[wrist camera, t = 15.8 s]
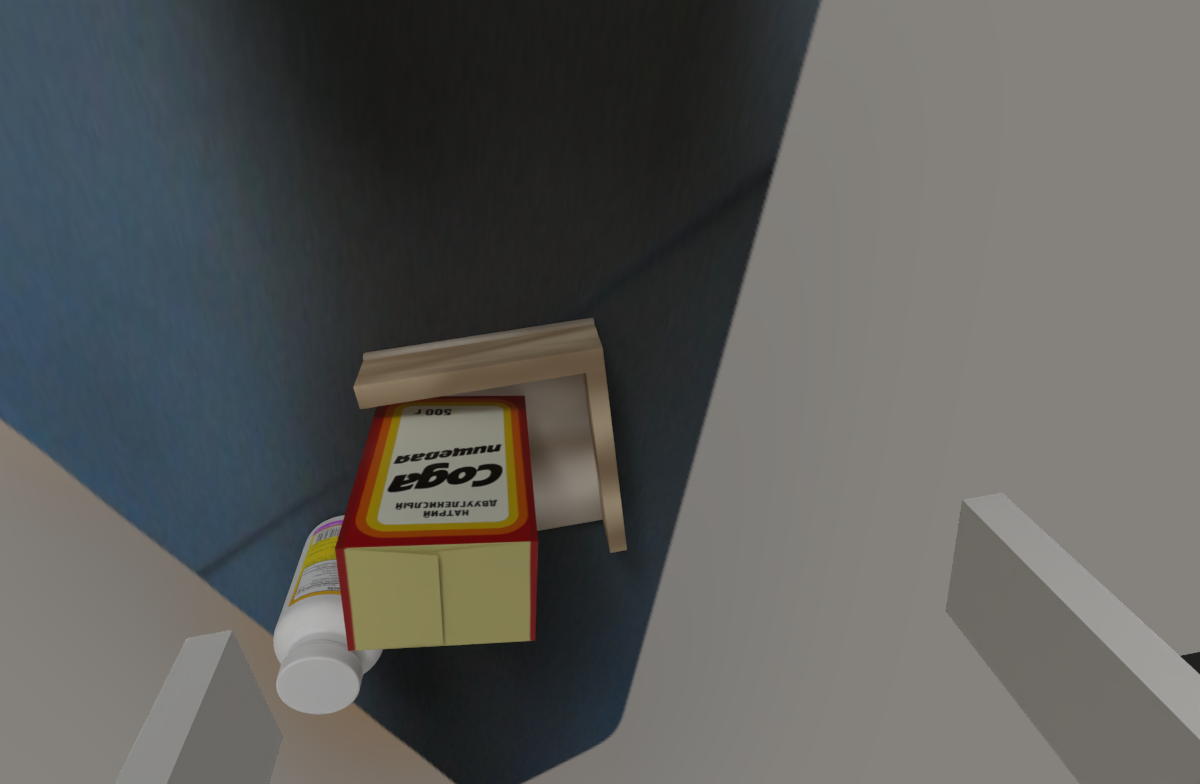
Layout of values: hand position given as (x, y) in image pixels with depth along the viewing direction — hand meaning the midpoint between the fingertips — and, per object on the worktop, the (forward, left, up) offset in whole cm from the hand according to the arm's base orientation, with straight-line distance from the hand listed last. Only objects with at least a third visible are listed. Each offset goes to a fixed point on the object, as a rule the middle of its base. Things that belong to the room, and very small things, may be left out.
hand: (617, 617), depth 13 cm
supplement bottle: (+23, -17, -35) cm, 45 cm away
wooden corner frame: (+16, -5, -35) cm, 39 cm away
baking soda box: (+15, -8, -34) cm, 38 cm away
